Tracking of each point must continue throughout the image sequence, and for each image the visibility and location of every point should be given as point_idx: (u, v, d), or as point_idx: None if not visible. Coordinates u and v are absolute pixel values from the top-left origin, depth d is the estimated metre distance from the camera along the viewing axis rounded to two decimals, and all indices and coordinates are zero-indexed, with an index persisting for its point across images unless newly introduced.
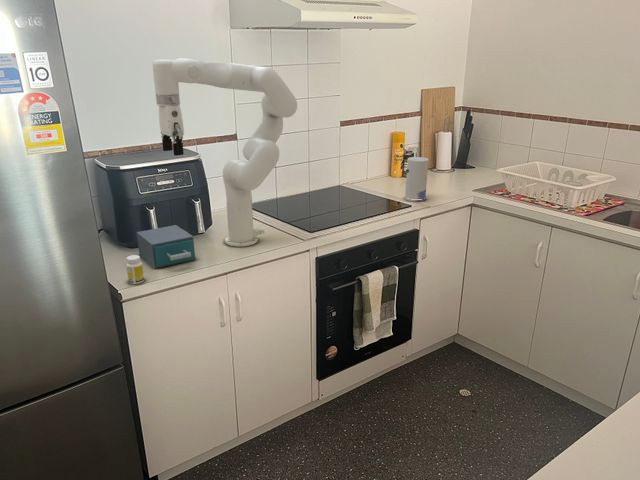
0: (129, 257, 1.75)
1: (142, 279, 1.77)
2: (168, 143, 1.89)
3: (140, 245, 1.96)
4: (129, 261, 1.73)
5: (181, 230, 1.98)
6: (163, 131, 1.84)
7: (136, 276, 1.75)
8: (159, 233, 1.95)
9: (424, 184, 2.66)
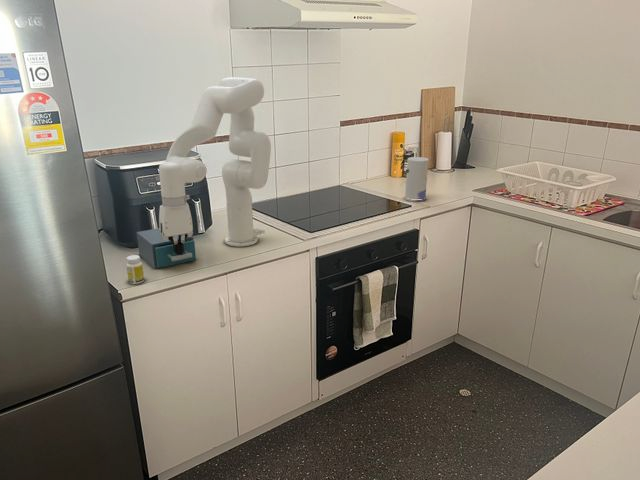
0: (129, 257, 1.75)
1: (142, 279, 1.77)
2: None
3: (140, 245, 1.96)
4: (129, 261, 1.73)
5: None
6: (175, 232, 1.80)
7: (136, 276, 1.75)
8: (159, 233, 1.95)
9: (424, 184, 2.66)
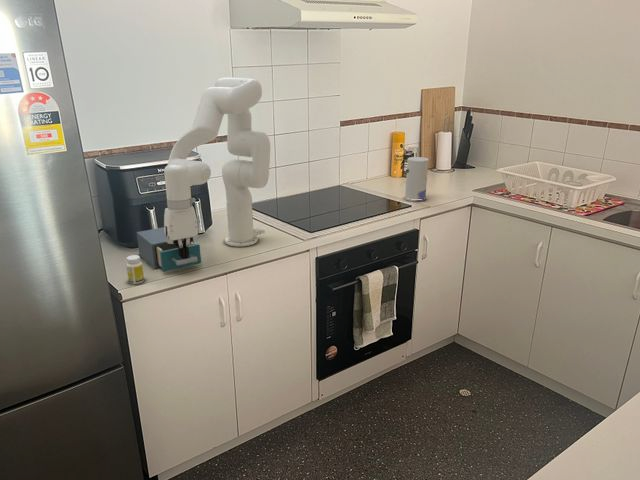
0: (129, 257, 1.75)
1: (142, 279, 1.77)
2: None
3: (140, 245, 1.96)
4: (129, 261, 1.73)
5: None
6: (180, 236, 1.77)
7: (136, 276, 1.75)
8: (159, 233, 1.95)
9: (424, 184, 2.66)
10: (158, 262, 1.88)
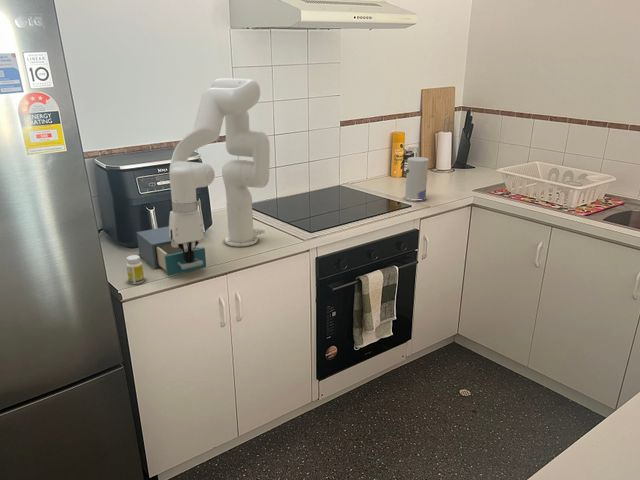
0: (129, 257, 1.75)
1: (142, 279, 1.77)
2: None
3: (140, 245, 1.96)
4: (129, 261, 1.73)
5: None
6: (185, 239, 1.74)
7: (136, 276, 1.75)
8: (159, 233, 1.95)
9: (424, 184, 2.66)
10: (163, 266, 1.84)
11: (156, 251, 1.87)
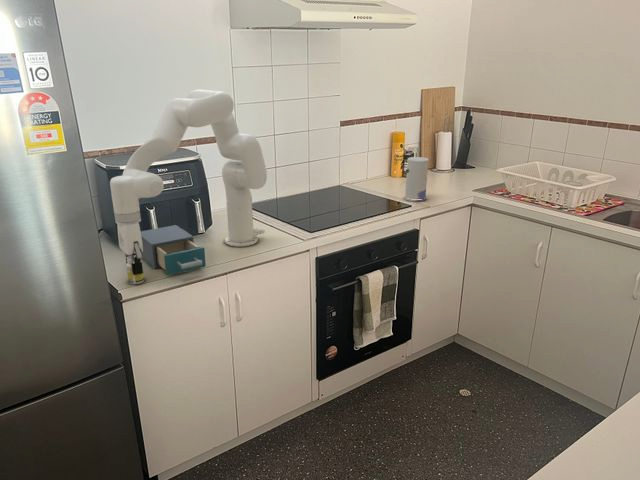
0: (129, 257, 1.75)
1: (142, 279, 1.77)
2: None
3: None
4: (129, 261, 1.73)
5: (181, 230, 1.98)
6: None
7: (136, 276, 1.75)
8: (159, 233, 1.95)
9: (424, 184, 2.66)
10: (162, 265, 1.85)
11: (155, 251, 1.87)
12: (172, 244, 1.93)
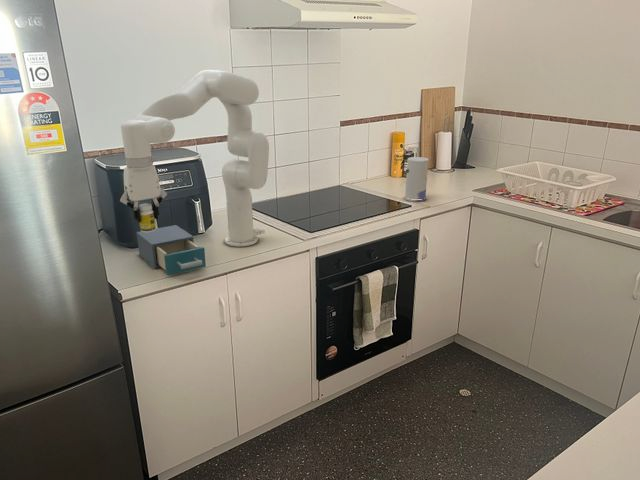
0: (145, 204, 1.74)
1: (143, 229, 1.73)
2: None
3: (140, 245, 1.96)
4: None
5: (181, 230, 1.98)
6: (141, 196, 1.69)
7: None
8: (159, 233, 1.95)
9: (424, 184, 2.66)
10: (162, 265, 1.85)
11: (155, 251, 1.87)
12: (172, 244, 1.93)
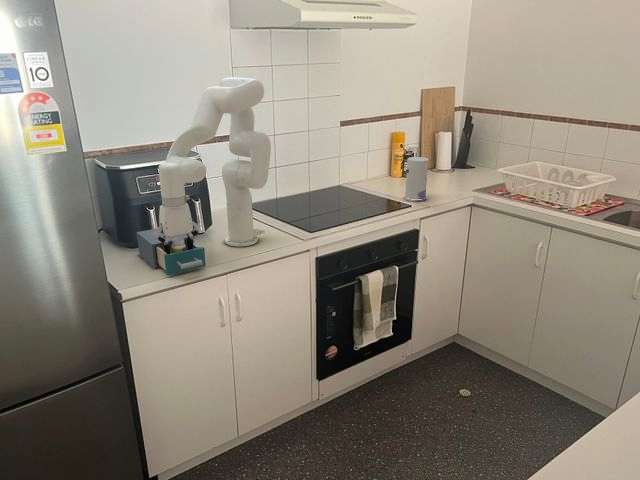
0: (178, 238, 1.85)
1: None
2: None
3: (140, 245, 1.96)
4: None
5: None
6: (175, 232, 1.81)
7: None
8: (159, 233, 1.95)
9: (424, 184, 2.66)
10: (162, 265, 1.85)
11: (155, 251, 1.87)
12: (172, 244, 1.93)
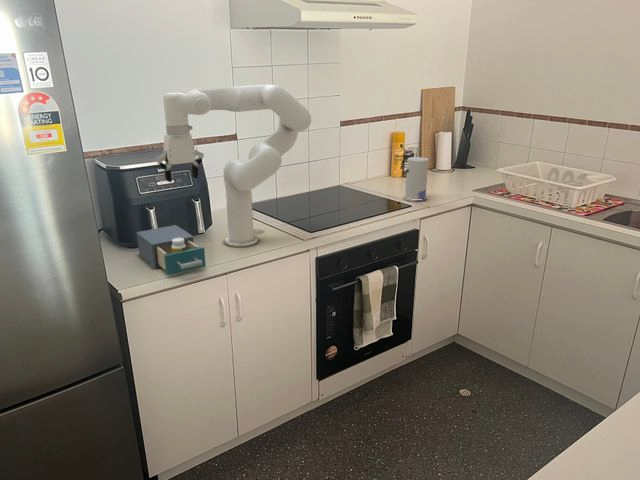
0: (178, 238, 1.85)
1: None
2: None
3: (140, 245, 1.96)
4: None
5: (181, 230, 1.98)
6: (179, 161, 1.91)
7: None
8: (159, 233, 1.95)
9: (424, 184, 2.66)
10: (162, 265, 1.85)
11: (155, 251, 1.87)
12: (172, 244, 1.93)
